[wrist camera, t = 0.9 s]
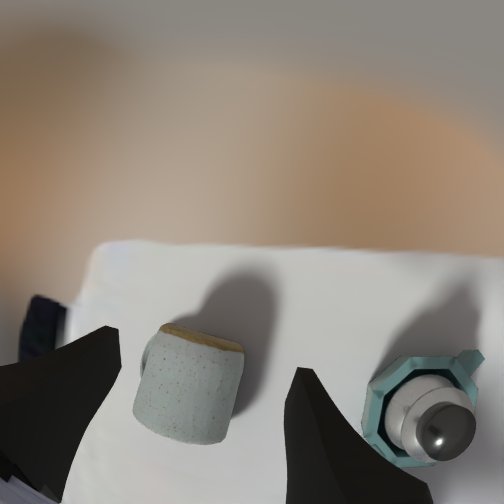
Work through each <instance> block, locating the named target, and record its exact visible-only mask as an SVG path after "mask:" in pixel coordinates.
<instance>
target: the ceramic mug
mask: <svg viewBox="0 0 504 504" xmlns="http://www.w3.org/2000/svg"><path fill="white" fill-rule="evenodd" d="M244 355H245V352H244V349H243V348H242V346H241V344H239V343H235V342H232V341H228V340H225V339H222V338H218V337H215V336H211V335H208V334H205V333H201V332H198V331H195V330H191V329H188V328H185V327H181V326H178V325H175V324H171V323H167V324H164V325H162V326H161V327H160V329H159V330H158V332H157V334H155V335H154V336H153V337H152V338H151V339H150V340H149V342H148V343H147V345H146V347H145V350H144V352H143V355H142V359H141V365H140V376H141V381H140V385H139V388H138V391H137V395H136V398H135V401H134V405H133V415H134V417H135V418H136V419H137V420H138V421H139V422H140V423H141V424H142V425H143V426H145V427H146V428H148V429H149V430H151V431H153V432H155V433H157V434H160V435H162V436H164V437H167V438H169V439H172V440H175V441H178V442H182V443H187V444H198V445H209V444H215V443H219V442H221V441H222V440H223V439H224V438H225V437H226V434H227V430H228V426H229V423H230V419H231V415H232V411H233V407H234V404H235V399H236V395H237V391H238V387H239V383H240V380H241V377H242V373H243V368H244Z"/></svg>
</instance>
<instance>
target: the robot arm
mask: <svg viewBox="0 0 504 504" xmlns="http://www.w3.org/2000/svg"><path fill="white" fill-rule="evenodd" d="M121 367H122V365H121V355H120V344H119V330H118V329H116V328H112V327H109V326H103V327H101V328H99V329H97V330H95V331H93V332H91V333H89V334H87V335H85V336H83V337H81V338H79V339H77V340H75V341H73V342H71V343H69V344H67V345H65V346H63V347H60V348H58V349H56V350H54V351H51V352H49V353H47V354H44V355H41V356H39V357H36V358H33V359H29V360H26V361H23V362H18V363H14V364H9V365H4V366H0V504H59V503H61V501H62V496H63V492H64V488H65V484H66V480H67V477H68V474H69V471H70V468H71V465H72V462H73V459H74V457H75V454H76V451H77V449H78V446H79V444H80V442H81V439H82V437H83V435H84V433H85V430H86V429H87V427H88V425H89V423H90V421H91V420H92V418H93V417H94V415H95V413H96V412H97V410H98V409H99V407H100V406H101V404H102V402H103V401H104V399H105V398H106V396H107V395H108V393H109V391H110V390H111V388H112V387H113V385H114V383H115V381H116V378H117V376H118V374H119V372H120V369H121ZM284 434H285V447H286V460H287V494H286V504H433V500H432V497H431V494H430V491H429V488H428V486H427V483H425V482H423V481H421V480H419V479H417V478H415V477H413V476H412V475H410V474H408V473H406V472H404V471H403V470H401V469H400V468H398V467H397V466H395V465H394V464H392V463H391V462H390V461H388V460H387V459H386V458H384V457H383V456H382V455H381V454H379V453H378V452H377V451H376V450H375V449H373V448H372V447H371V446H370V445H369V444H368V443H367V442H366V441H365V440H364V439H363V438H362V437H361V436H360V435H359V434H358V433H357V432H356V431H355V430H354V429H353V427H352V426H351V425H350V424H349V423H348V421H347V420H346V419H345V418H344V416H343V415H342V414H341V412H340V411H339V409H338V408H337V407H336V405H335V404H334V402H333V401H332V399H331V398H330V396H329V395H328V393H327V391H326V390H325V388H324V387H323V385H322V383H321V382H320V380H319V378H318V377H317V375H316V373H315V372H314V370H313V369H309V368H301V367H297V370H296V373H295V376H294V378H293V381H292V384H291V387H290V390H289V392H288V395H287V398H286V401H285V409H284Z"/></svg>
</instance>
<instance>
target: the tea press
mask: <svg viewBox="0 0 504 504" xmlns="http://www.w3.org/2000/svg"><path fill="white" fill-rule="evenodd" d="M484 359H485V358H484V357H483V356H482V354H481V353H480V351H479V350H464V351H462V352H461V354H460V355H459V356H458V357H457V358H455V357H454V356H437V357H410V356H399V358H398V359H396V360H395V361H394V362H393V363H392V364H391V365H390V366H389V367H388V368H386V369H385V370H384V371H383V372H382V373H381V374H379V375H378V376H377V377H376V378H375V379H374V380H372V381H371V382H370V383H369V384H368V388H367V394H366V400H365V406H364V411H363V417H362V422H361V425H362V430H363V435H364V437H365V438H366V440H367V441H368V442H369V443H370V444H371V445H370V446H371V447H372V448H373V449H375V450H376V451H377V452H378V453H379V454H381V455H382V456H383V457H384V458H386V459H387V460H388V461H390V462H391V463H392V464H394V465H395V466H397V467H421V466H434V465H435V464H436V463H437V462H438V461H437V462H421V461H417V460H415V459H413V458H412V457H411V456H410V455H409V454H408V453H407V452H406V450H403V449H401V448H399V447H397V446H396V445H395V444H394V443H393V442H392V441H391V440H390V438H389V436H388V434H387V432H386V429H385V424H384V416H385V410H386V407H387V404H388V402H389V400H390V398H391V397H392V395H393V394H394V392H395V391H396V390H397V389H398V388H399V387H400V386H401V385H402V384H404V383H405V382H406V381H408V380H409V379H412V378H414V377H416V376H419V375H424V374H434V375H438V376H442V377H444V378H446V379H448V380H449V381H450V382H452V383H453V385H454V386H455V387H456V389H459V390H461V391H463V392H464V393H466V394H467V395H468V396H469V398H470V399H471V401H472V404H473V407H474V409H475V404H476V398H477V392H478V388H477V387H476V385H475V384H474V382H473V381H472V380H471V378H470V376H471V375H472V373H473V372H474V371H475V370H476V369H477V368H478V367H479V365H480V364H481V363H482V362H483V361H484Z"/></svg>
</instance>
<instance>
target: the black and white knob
mask: <svg viewBox="0 0 504 504" xmlns="http://www.w3.org/2000/svg"><path fill="white" fill-rule="evenodd" d="M384 424H385V429H386V432H387V434H388V436H389V438H390V440H391V441H392V442H393V443H394V444H395V445H396V446H397V447H399V448H401V449H403V450H406V452H407V453H408V454H409V455H410V456H411V457H412V458H413V459H415V460H417V461H421V462H437V461H447V460H451V459H453V458H455V457H457V456H458V455H460V454H461V453H462V452H464V450H465V449H466V448H467V447H468V446H469V444H470V443H471V441H472V439H473V437H474V434H475V430H476V420H475V417H474V407H473V404H472V401H471V399H470V398H469V396H468V395H467V394H466V393H464V392H463V391H461V390H459V389H456V387H455V386H454V385H453V383H452V382H450V381H449V380H448V379H446V378H444V377H442V376H438V375H434V374H424V375H419V376H416V377H414V378H412V379H409V380H408V381H406V382H405V383H404V384H402V385H401V386H400V387H399V388H398V389H397V390H396V391H395V392H394V394H393V395H392V397H391V398H390V400H389V402H388V404H387V407H386V410H385V416H384Z"/></svg>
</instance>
